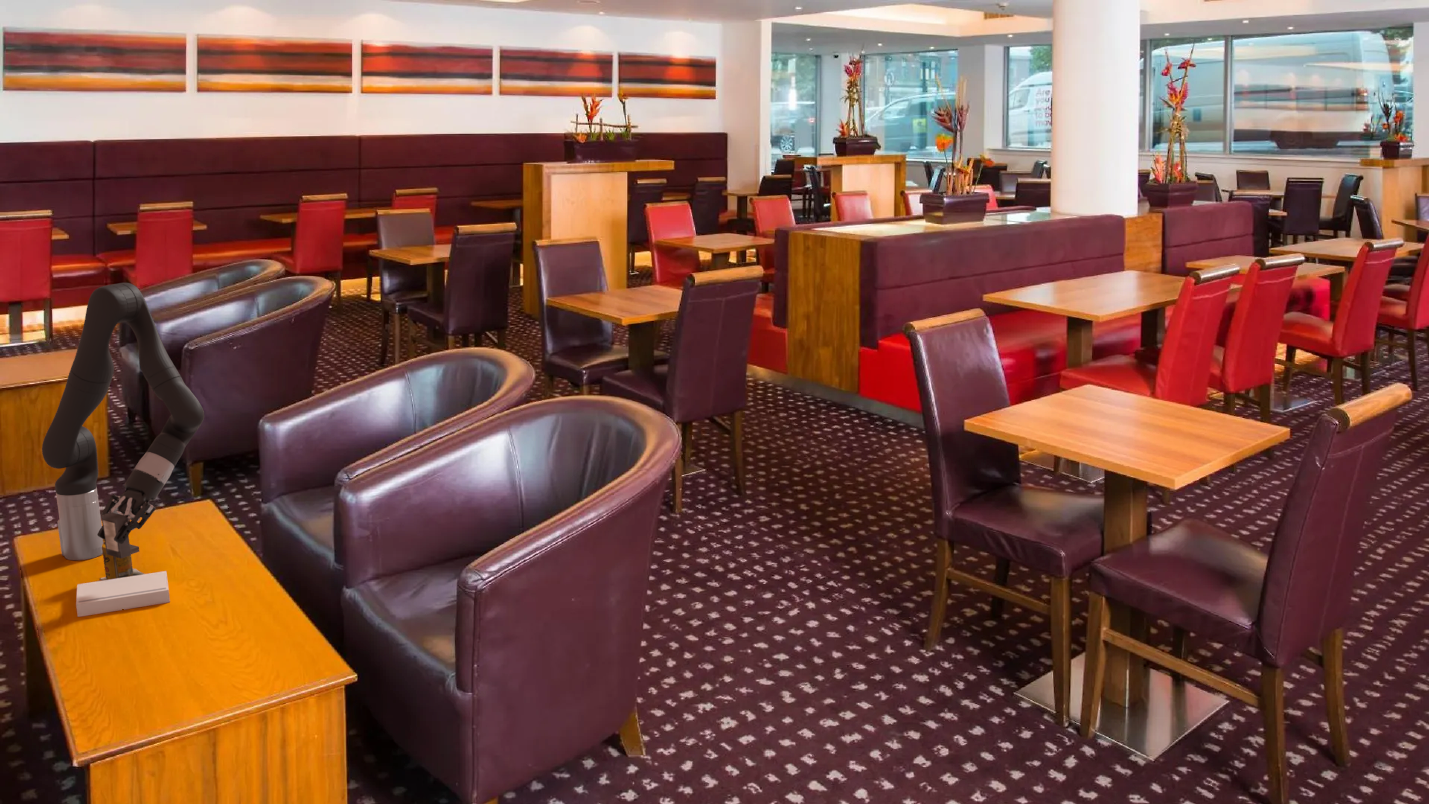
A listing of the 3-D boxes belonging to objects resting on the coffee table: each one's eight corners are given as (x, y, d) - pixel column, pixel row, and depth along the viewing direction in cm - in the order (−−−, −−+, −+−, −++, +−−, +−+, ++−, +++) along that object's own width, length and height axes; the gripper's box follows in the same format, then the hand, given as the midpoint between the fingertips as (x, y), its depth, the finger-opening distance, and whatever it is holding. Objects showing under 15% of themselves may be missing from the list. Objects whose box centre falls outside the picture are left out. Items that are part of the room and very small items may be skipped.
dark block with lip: (105, 554, 278) (100, 515, 276) (125, 547, 283) (120, 509, 280) (120, 558, 276) (115, 519, 274) (140, 551, 280) (135, 512, 278)
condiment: (99, 579, 293) (93, 532, 290) (134, 569, 299) (128, 523, 297) (113, 586, 289) (106, 539, 286) (148, 576, 295) (142, 529, 292)
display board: (77, 616, 271) (76, 604, 271) (79, 596, 283) (77, 584, 282) (170, 602, 279) (168, 589, 279) (167, 582, 291) (166, 570, 290)
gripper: (118, 464, 284) (77, 527, 276) (158, 472, 277) (116, 537, 269) (141, 479, 289) (102, 542, 282) (180, 488, 282) (141, 552, 275)
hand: (109, 539), depth 276 cm, fingers closed on dark block with lip, 5 cm apart
